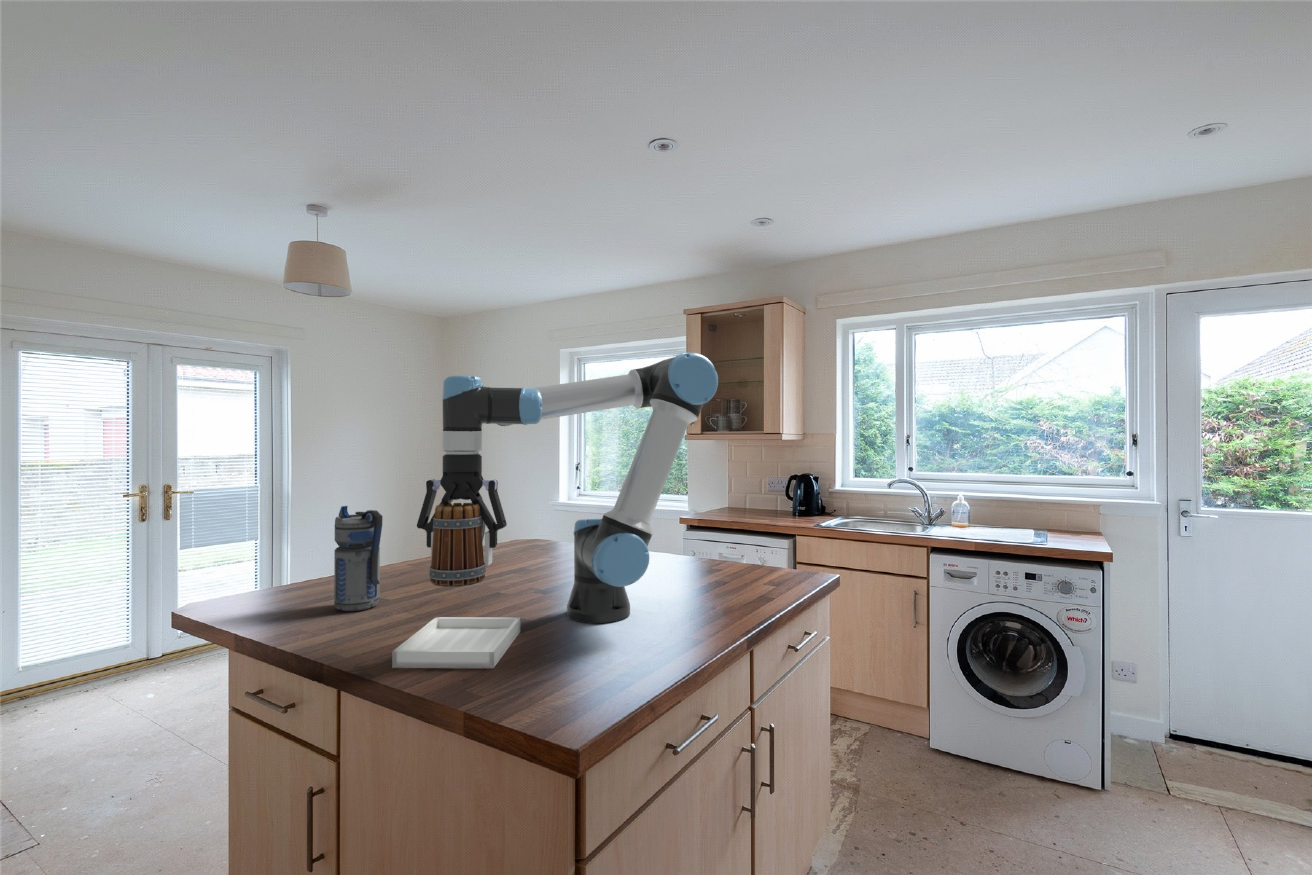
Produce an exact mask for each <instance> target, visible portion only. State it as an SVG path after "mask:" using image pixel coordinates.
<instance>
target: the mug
mask: <svg viewBox="0 0 1312 875" xmlns="http://www.w3.org/2000/svg"><path fill="white" fill-rule="evenodd" d="M439 504H440V503H439ZM439 504H437V505H436V506H435V508H434V513H435V517H434V519H433V527H434V532H433V546H432V560H431V559H430V566H429V574H428V575H429V576H428V577H429V581H430V583H431V584H432V585H434V586H438V587H442V588H454V587H456V588H457V587H466V586H467V587H468V586H472V585H475V584H478V583H481V582H482V581H483V580H484V579H485V578H486V565H485V555H484V543H483V542H484V539H485V532H486V524H485V523H484V521H483V519H482V517H481V516H480V506H479V504H476V505H474V504H473V503H472V502H463V503H461V502H454V503H453V504H452V502H451V503H449V504H447V506H446V507H444V504H440V505H439Z"/></svg>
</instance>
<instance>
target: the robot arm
mask: <svg viewBox="0 0 1312 875" xmlns="http://www.w3.org/2000/svg"><path fill="white" fill-rule="evenodd" d="M718 385H719V376H718V372H717V371H716V368H715V366H714V364H713V362H712V361H711V360H709V358H708V357H706V356H705V355H703V354H700V353H698V352H683V353H679V354H677V355H676V356H674V357H669V358H666V359H663V360H661V361H659V362H655V363H653V364H651V365H648V366H645V367H639V368H635V369H634V368H633V369H630V370H629V372H628V373H627V374H621V375H615V376H607V377H601V378H600V377H599V378H594V379H593V378H592V379H587V380H580V381H572V382H566V383H559V384H553V385H552V384H551V385H547V386H539V387H531V388H527V387H490V386H484V384H483V380H482V378H481V377H479V376H474V375H471V376H470V375H451V376H447V377H445V379H444V380H443V387H442V451H443V452H445V454H443V456H442V477H441V479H429V480H426V481H425V485H426V486H425V487H426V492H425V496H424V499H423V502H422V505H421V510H420V513H419V516H418V519H417V522H416V527H417V529H421V530H424V531H425V533H426V547H427V548H430V561H431V560H432V546H433V532H434V527H433V519H434V517H435V512H434V513H433V514H432V516H431V513H432V510H433V506H434V504H435V500H436V496H437V493H438V491H439V489H440V487H442V489H444V492H445V493H444V494H443V496H442V498H441V500H440V503H439V504H438V505H440V504H444V507H446V506H447V504H449V503H451V504H452V502H453V501H457V500H464V501H465V500H466V501H469V500H470V501H471V502H472V503H473V504H474V505H476V504H479V506H480V516H481V517H482V519H483V521H484V523H485V524H486V525H485V527H486V528H487V531H485V534H484V563H485V566H490V565H491V564H493V549H495V548H496V547H497V545H498V532H499V530H502V529H504V528H506V527H507V521H506V516H505V512H504V510H503V507H502V502H501V499H500V496H499V495H500V494H499V492H498V488H499V487H498V484H499V482H498V480H497V479H492V480H491V479H484V477H483V474H482V471H483V470H482V469H483V467H482V466H483V462H482V461H483V460H482V458H483V456H482V455H481V453H479V452H481V451H482V450H483V449H482V448H483V447H482V445H483V443H482V442H483V440H482V439H483V433H482V432H483V428H482V427H483V424H486V425H491V424H494V425H497V426H500V427H508V426H512V425H523V426H527V425H538V424H539V423H540V421H541V420H547V419H552V418H560V417H565V416H566V417H567V416H572V415H573V416H574V415H578V414H585V413H593V412H598V411H604V410H610V409H611V410H612V409H616V408H624V407H629V406H633V407H635V409H643V408H651V409H652V412H651V416H650V417H649V420H648V421H647V425H646V427H645V430H644V432H643V434H642V436H641V440H640V442H639V445H638V447H637V449H636V452H635V455H634V457H633V459H632V461H631V464H630V467H629V470H628V472H627V474H626V477H625V479H624V482H623V484H622V487H621V489H620V491H619V494H618V497H617V499H616V502H615V504H614V507H613V508H612V509H611V510H609V511H607V512H605V513H603V515H602V518H582V519H577V520H576V521H575V523H574V530H573V540H574V542H573V545H574V546H573V549H574V550H573V552H574V556H573V557H574V558H573V562H574V563H573V566H574V567H573V570H574V571H573V574H574V576H573V577H574V579H573V585H572V587H571V588H572V589H571V591H570V595H569V598H568V601H567V604H566V617H567V618H568V619H570V620H572V621H576V622H579V623H585V624H586V623H588V624H602V623H603V624H605V623H612V622H617V621H622V620H624V619H626V618H628V617H629V616H630V615H631V603H630V599H629V597H628V592H627V590H626V587H627V586H630V585H633V584H634V583H636V582H638V581H639V580H640V579H642V577H643V576H644V575H645V573H646V572H647V570H648V567H649V564H650V552H649V547H648V546H649V544H650V542H651V539H652V536H653V535H654V534H653V533H654V532H653V530H652V527H651V525H650V522H651V520H652V518H653V515H654V512H655V509H656V507H657V505H658V502H659V499H660V496H661V494H662V491H663V489H664V488H665V484H666V482H667V480H668V477H669V474H670V472H671V470H672V469H671V468H672V466H673V463H674V461H675V459H676V457H677V454H678V452H679V448H680V446H681V444H682V441H683V438H684V436H685V433H686V431H687V428H688V426H689V425H690V424H692V423H694V422H697V421H698V419H699V416H700V414H701V412H702V409H703V406H704V404H707V403H708V402H710V400H712V398H713V397H714V396H715V395H716V392H717V389H718V387H719V386H718ZM483 486H484V488H485V490H486V491H487V493H488V498H489V501H490V506H491V508H492V512H493V514H494V518H495V520H494V518H493V515H492V514H491V512H490V510H489V509H488V507H487V505H486V504H485V501H484V499H483V497H482V495H481V494H480V491H481V489H482V487H483ZM471 502H470V503H471ZM430 516H431V517H430Z"/></svg>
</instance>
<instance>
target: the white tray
mask: <svg viewBox="0 0 1312 875" xmlns="http://www.w3.org/2000/svg"><path fill="white" fill-rule="evenodd" d="M521 619H522V618H521V617H497V616H496V617H493V616H491V617H489V616H488V617H484V616H483V617H475V616H474V617H473V616H472V617H469V616H468V617H465V616H464V617H463V616H461V617H459V616H454V617H453V616H452V617H451V616H450V617H449V616H447V617H446V616H444V617H443V616H440V617H439V616H435V617H434V618H433V619H431V620H430V621H429V622H427V624H426V625H424V626H422V628H420V629H419V630H418V631H417V632H415V633H414V634H413V635H411V636H410V637H409V638H407V639H406V640H405V641H404V642H402V643H401V644H400V645H399V646H397V647H396V648H395V649H394V650H392V651H391V653H392V656H391V658H392V659H391V664H392V666H391V667H392V668H391V669H494V668H495V667H496V665H497V664H498V663H499V661H500V660H501V658H502V657H503V656H504V655H505V653H506V652H507V651H508V649H509V648H510V647H511V645H512V644H513V642H514V641H515V639H516V638H517V637H518V635H519V634H520V633H521V631H522V630H521Z"/></svg>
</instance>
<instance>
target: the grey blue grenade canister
mask: <svg viewBox="0 0 1312 875" xmlns="http://www.w3.org/2000/svg"><path fill="white" fill-rule="evenodd" d="M382 530H383V515H382V514H381V513H380V512H379V511H378V510H375V509H374V510H373V509H372V510H371V509H369V510H365V511H355V512H354V514H349V512H348V505H344V506H343V505H342V506H341V507H340V510H339V512H338V516H336V517H335V519H334V542H335V543H336V545H338V547H336V548H335V549H334V568H333V569H334V576H333V577H334V579H333V580H334V582H333V583H334V591H333V593H334V599H333V600H334V602H333V604H334V606H335V608H336V610H338V611H342V612H358V611H365V610H369V609H371V608H373V607H375V606H377V605H378V604H379V601H380V599H381V598H380V592H381V591H380V589H381V588H380V587H381V586H380V585H381V581H380V580H381V579H380V578H381V577H380V574H381V573H380V572H381V571H380V570H381V568H380V567H381V566H380V565H381V561H380V559H381V556H380V554H381V553H380V552H381V551H380V550H381V549H380V548H381V547H380V545H381V544H380V543H381V537H382Z"/></svg>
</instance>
